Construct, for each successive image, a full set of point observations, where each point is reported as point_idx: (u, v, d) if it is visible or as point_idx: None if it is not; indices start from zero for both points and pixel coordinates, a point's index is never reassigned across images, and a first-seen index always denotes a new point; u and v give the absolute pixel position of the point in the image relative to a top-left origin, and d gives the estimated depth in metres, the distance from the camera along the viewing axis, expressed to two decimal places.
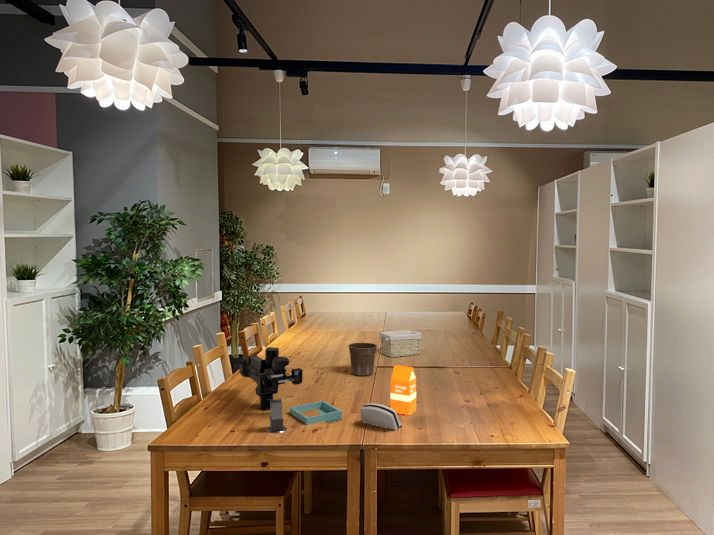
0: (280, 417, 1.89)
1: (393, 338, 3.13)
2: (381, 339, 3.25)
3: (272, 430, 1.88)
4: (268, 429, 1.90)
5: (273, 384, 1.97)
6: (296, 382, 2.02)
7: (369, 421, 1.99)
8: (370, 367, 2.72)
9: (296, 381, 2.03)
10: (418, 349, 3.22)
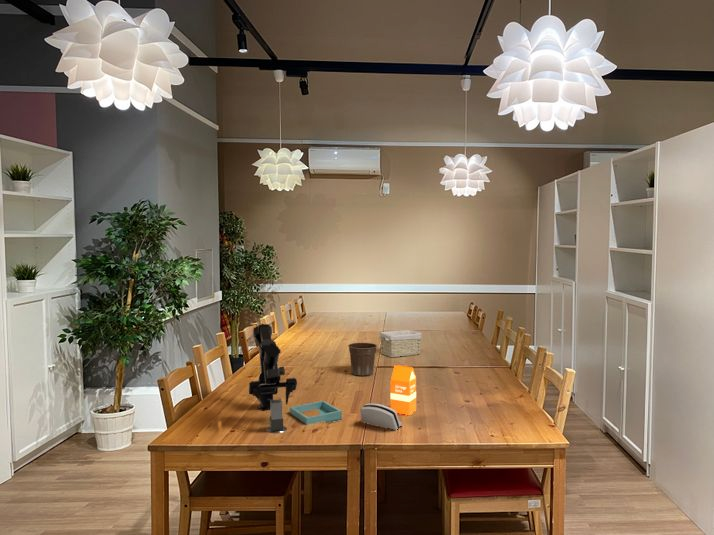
0: (280, 417, 1.89)
1: (394, 338, 3.13)
2: (381, 339, 3.25)
3: (272, 430, 1.88)
4: (268, 429, 1.90)
5: (260, 400, 1.93)
6: None
7: (370, 421, 1.98)
8: (370, 367, 2.72)
9: None
10: (418, 349, 3.22)
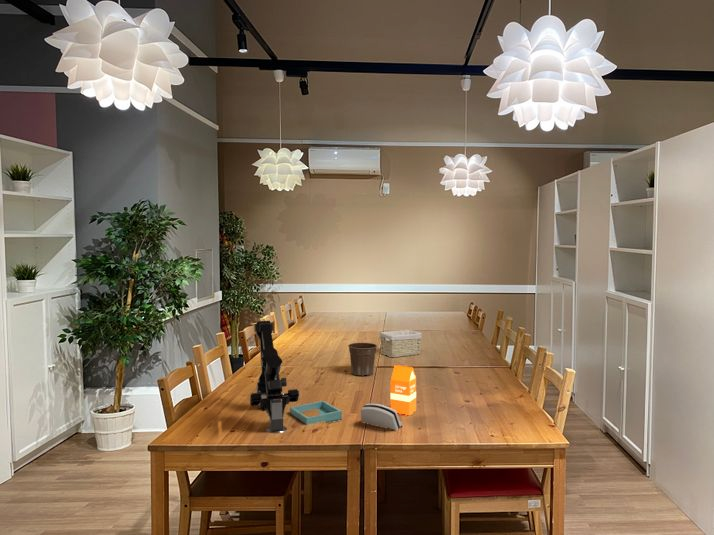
0: (280, 417, 1.89)
1: (394, 338, 3.12)
2: (381, 339, 3.24)
3: (272, 430, 1.88)
4: (268, 429, 1.90)
5: (268, 412, 1.89)
6: None
7: (370, 421, 1.98)
8: (370, 367, 2.72)
9: None
10: (418, 349, 3.23)
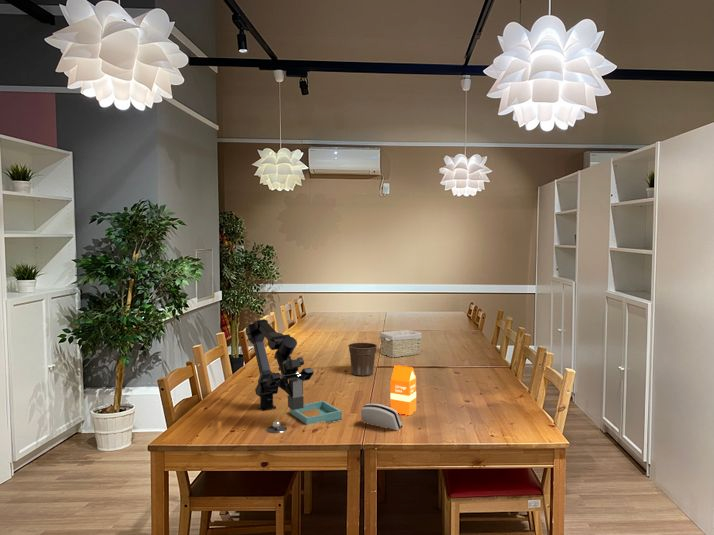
0: (300, 395, 1.94)
1: (395, 338, 3.12)
2: (381, 339, 3.24)
3: (294, 408, 1.92)
4: (268, 429, 1.90)
5: (288, 391, 1.93)
6: None
7: (370, 421, 1.98)
8: (370, 367, 2.72)
9: None
10: (418, 349, 3.23)
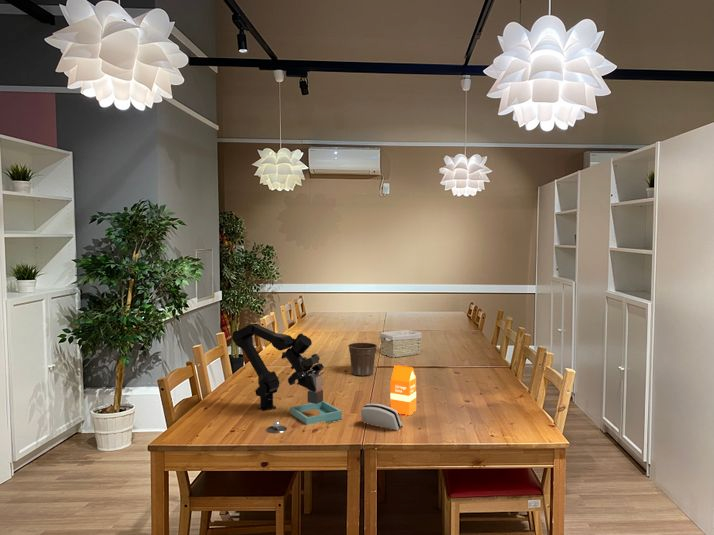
0: (321, 389, 2.06)
1: (395, 338, 3.12)
2: (381, 339, 3.24)
3: (317, 402, 2.03)
4: (268, 429, 1.90)
5: (310, 386, 2.03)
6: None
7: (370, 421, 1.98)
8: (370, 367, 2.72)
9: None
10: (418, 349, 3.23)
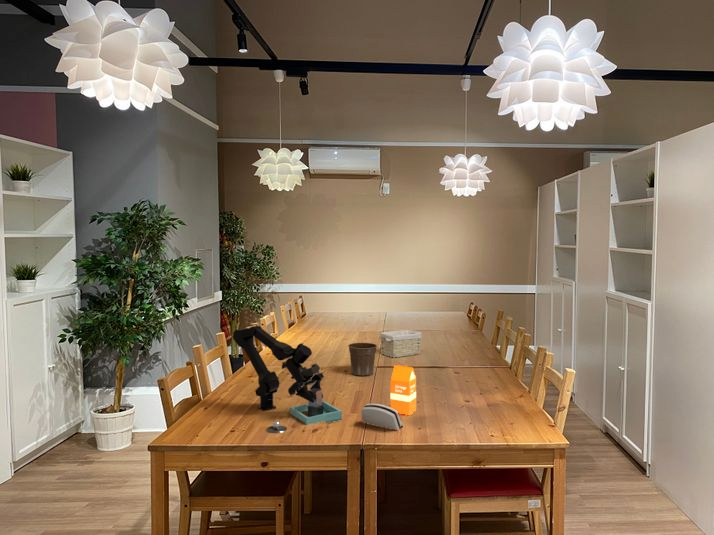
0: (321, 403, 2.06)
1: (396, 338, 3.12)
2: (381, 340, 3.23)
3: None
4: (268, 429, 1.90)
5: (308, 397, 2.02)
6: None
7: (371, 421, 1.98)
8: (370, 367, 2.72)
9: None
10: (418, 349, 3.23)
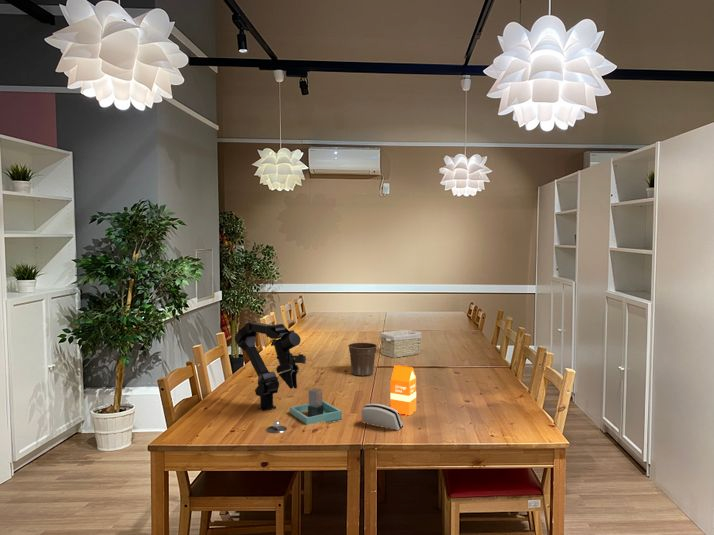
0: (321, 403, 2.06)
1: (396, 338, 3.12)
2: (381, 340, 3.23)
3: None
4: (268, 429, 1.90)
5: (289, 382, 2.02)
6: (292, 382, 2.12)
7: (371, 421, 1.98)
8: (370, 367, 2.72)
9: (292, 381, 2.12)
10: (418, 348, 3.24)
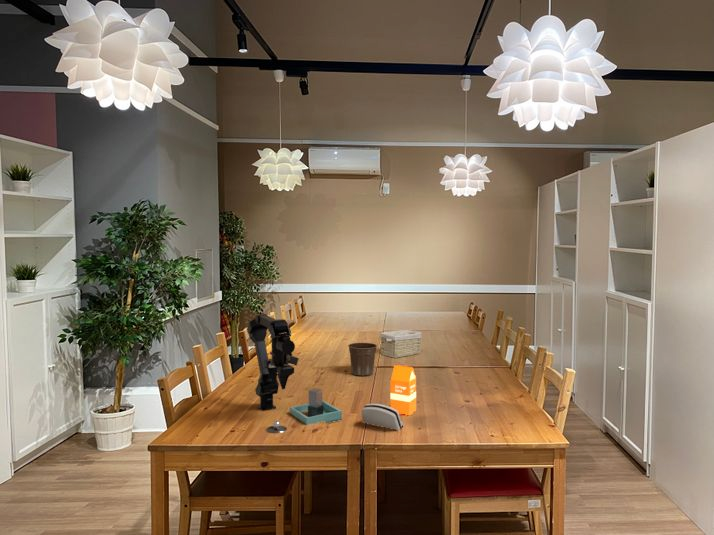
0: (321, 403, 2.06)
1: (397, 338, 3.12)
2: (382, 340, 3.22)
3: None
4: (268, 429, 1.90)
5: (284, 383, 2.03)
6: (273, 377, 2.11)
7: (371, 421, 1.98)
8: (370, 367, 2.72)
9: (273, 376, 2.11)
10: (418, 348, 3.24)
